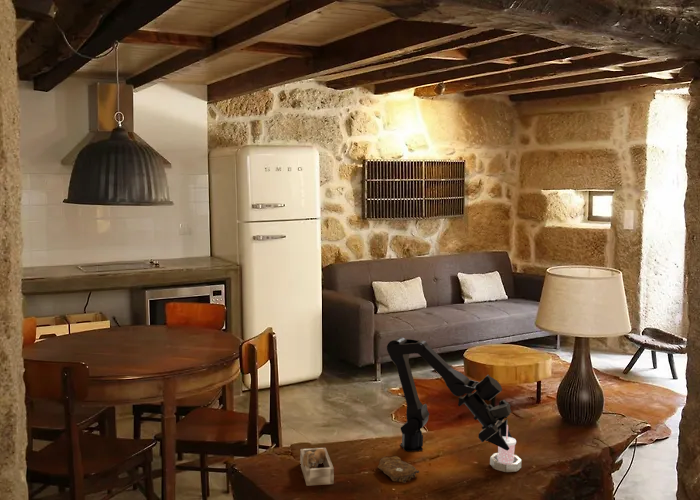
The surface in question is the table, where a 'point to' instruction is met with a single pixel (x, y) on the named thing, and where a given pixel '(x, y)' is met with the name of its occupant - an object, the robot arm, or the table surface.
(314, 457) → the lion figurine
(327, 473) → the open figurine box
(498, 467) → the cup holder ring
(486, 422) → the robot arm
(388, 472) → the decorative rock
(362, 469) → the table surface
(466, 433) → the table surface
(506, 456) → the beverage cup
